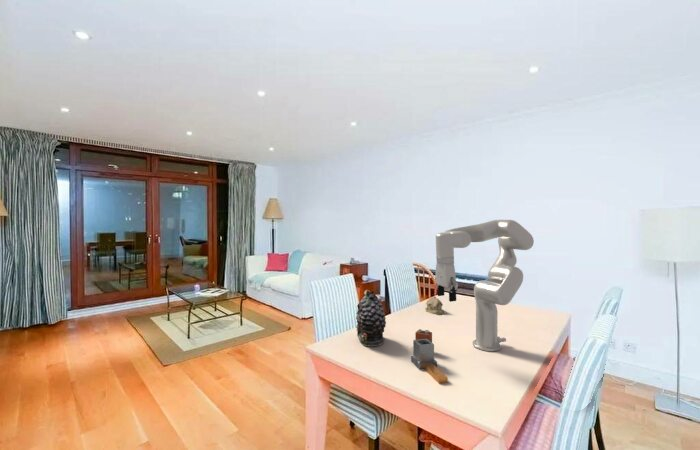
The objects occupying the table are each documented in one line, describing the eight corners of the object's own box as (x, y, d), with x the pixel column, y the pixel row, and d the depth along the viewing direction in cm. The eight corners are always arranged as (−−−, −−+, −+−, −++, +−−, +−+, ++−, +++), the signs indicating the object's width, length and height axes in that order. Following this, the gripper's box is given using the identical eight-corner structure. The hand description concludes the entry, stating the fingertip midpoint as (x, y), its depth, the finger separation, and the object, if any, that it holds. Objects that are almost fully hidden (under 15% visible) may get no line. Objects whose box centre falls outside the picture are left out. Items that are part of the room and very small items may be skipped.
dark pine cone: (351, 334, 171) (350, 288, 171) (377, 332, 175) (377, 286, 174) (362, 350, 151) (361, 297, 151) (392, 346, 155) (391, 295, 154)
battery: (429, 354, 146) (429, 333, 145) (415, 351, 149) (415, 330, 149) (432, 351, 149) (432, 330, 149) (418, 348, 153) (418, 327, 153)
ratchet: (452, 381, 121) (452, 362, 121) (433, 384, 120) (433, 364, 119) (427, 359, 141) (427, 342, 141) (411, 361, 139) (411, 344, 139)
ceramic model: (421, 309, 217) (421, 295, 217) (435, 307, 222) (435, 293, 222) (434, 315, 204) (435, 299, 204) (448, 313, 209) (448, 298, 209)
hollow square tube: (426, 354, 140) (426, 338, 140) (434, 360, 134) (434, 344, 134) (413, 356, 138) (413, 340, 138) (420, 362, 132) (419, 345, 132)
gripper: (428, 258, 150) (429, 294, 151) (448, 264, 134) (449, 304, 134) (442, 257, 152) (444, 292, 153) (464, 262, 135) (465, 302, 136)
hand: (446, 298), depth 144 cm, fingers open, 9 cm apart
